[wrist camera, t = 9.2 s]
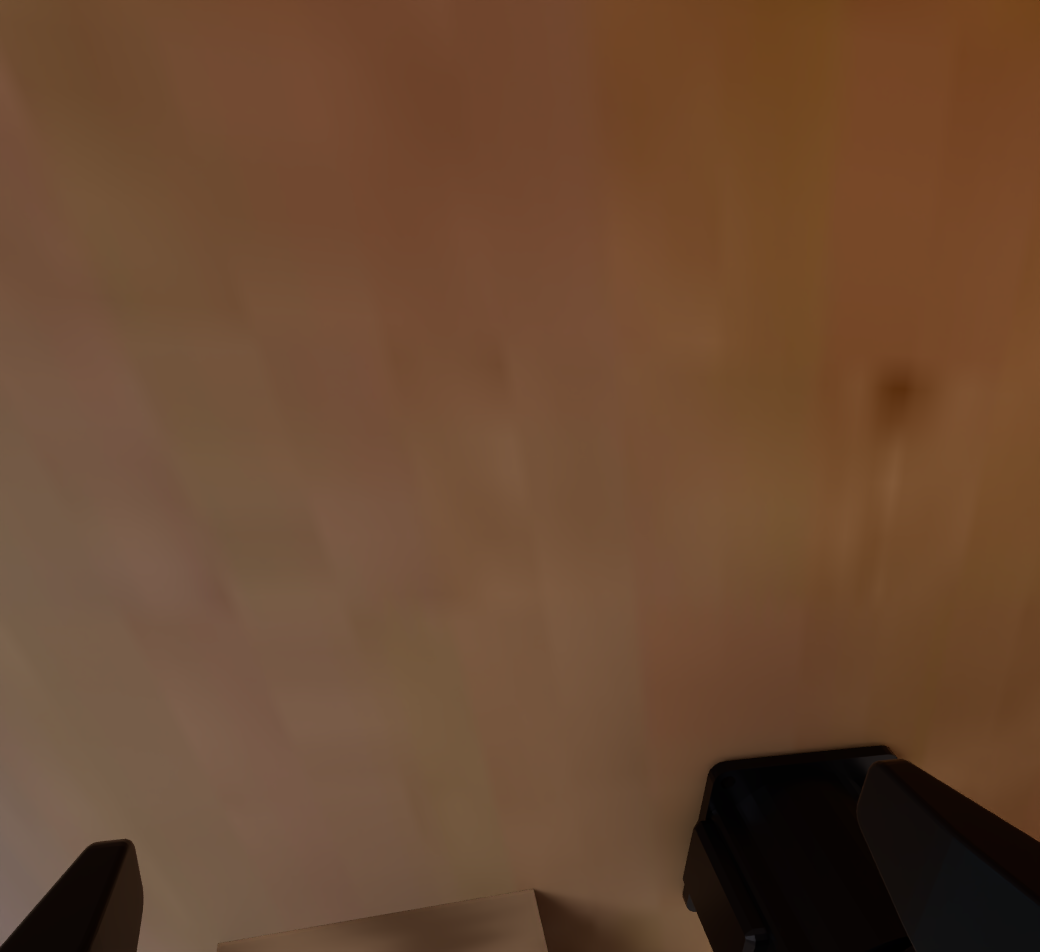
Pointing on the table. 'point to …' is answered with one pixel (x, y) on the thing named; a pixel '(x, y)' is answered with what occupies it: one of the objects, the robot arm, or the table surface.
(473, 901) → the grey square frame
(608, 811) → the table surface
